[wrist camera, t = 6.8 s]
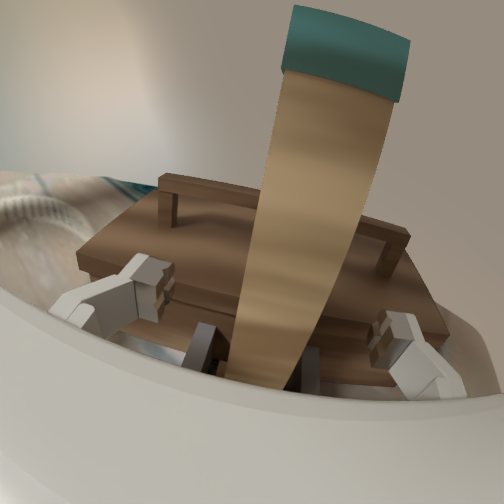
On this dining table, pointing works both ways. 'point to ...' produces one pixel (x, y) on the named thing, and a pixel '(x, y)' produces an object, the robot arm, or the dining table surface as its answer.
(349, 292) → the toolbox
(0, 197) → the dining table surface
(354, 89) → the wooden key
